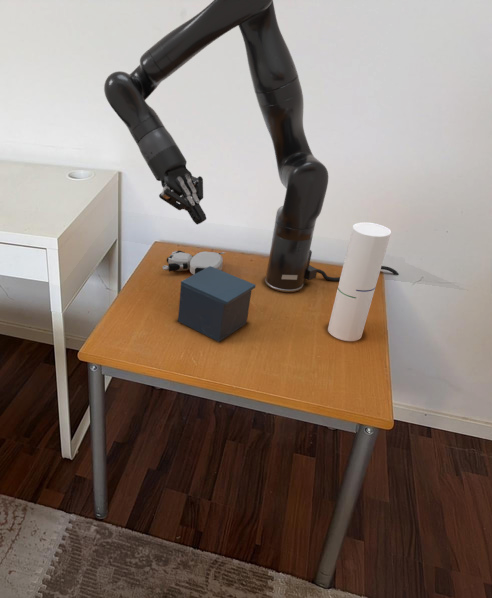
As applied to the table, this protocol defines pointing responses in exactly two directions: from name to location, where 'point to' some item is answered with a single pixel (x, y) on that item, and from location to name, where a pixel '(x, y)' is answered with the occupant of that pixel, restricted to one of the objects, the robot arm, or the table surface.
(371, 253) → the cylindrical container
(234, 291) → the lid
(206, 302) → the caddy
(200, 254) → the robot toy
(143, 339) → the table surface
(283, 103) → the robot arm
